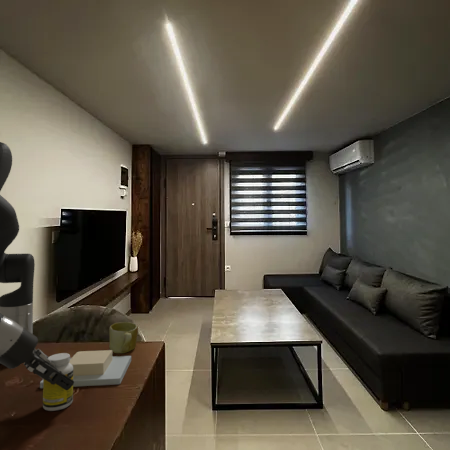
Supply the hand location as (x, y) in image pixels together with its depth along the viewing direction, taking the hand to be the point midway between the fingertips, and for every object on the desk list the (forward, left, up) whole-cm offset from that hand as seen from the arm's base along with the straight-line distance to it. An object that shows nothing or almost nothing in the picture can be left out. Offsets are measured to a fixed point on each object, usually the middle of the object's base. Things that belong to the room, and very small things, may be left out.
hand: (66, 380), depth 76 cm
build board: (+1, +16, -5) cm, 17 cm away
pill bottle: (-1, -1, -5) cm, 5 cm away
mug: (+7, +33, -5) cm, 34 cm away
